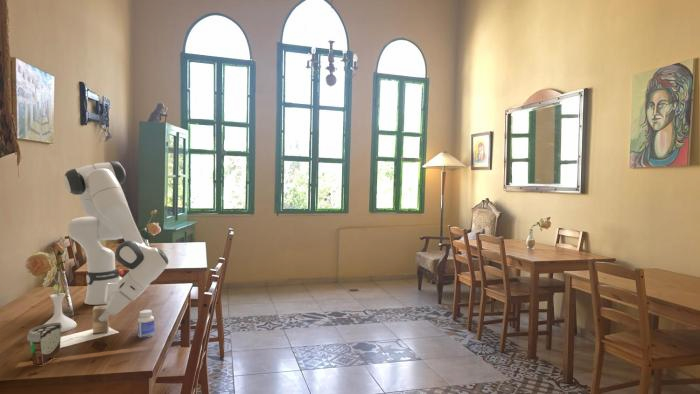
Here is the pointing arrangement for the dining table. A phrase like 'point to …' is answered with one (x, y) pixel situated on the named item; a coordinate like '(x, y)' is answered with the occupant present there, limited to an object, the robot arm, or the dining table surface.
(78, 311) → the dining table surface
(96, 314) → the sanding block
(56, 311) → the flower in vase
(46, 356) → the food container
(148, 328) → the pill bottle
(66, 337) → the board
